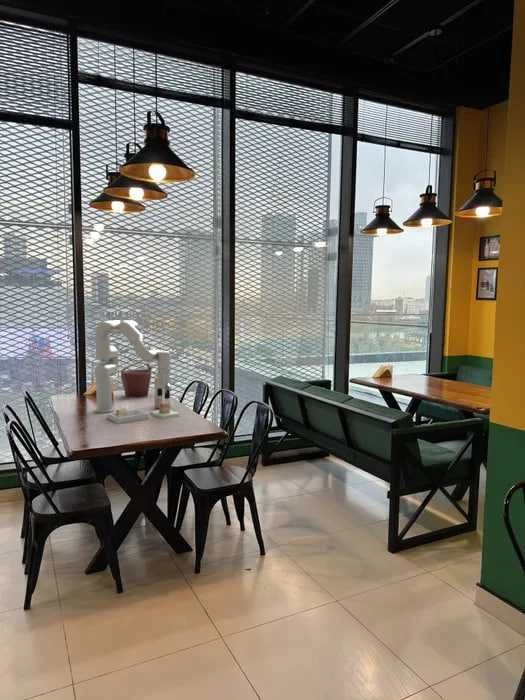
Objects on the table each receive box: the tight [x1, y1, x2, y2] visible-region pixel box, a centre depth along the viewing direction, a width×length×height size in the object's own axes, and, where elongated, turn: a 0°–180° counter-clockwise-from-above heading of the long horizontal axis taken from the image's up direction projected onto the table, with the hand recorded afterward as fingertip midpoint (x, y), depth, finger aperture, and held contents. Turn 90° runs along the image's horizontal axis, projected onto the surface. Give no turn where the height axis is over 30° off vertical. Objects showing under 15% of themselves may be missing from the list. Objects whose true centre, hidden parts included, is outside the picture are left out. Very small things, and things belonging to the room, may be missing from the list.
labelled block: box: [158, 402, 171, 414], centre depth 314 cm, size 5×5×6 cm
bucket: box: [120, 362, 153, 399], centre depth 376 cm, size 24×22×25 cm
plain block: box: [115, 408, 128, 418], centre depth 302 cm, size 5×5×6 cm
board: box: [149, 409, 180, 419], centre depth 315 cm, size 16×12×2 cm
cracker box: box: [153, 376, 171, 410], centre depth 339 cm, size 14×6×21 cm, turn 168°
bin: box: [107, 408, 150, 424], centre depth 305 cm, size 16×20×4 cm
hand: (163, 397), depth 314 cm, fingers open, 9 cm apart
